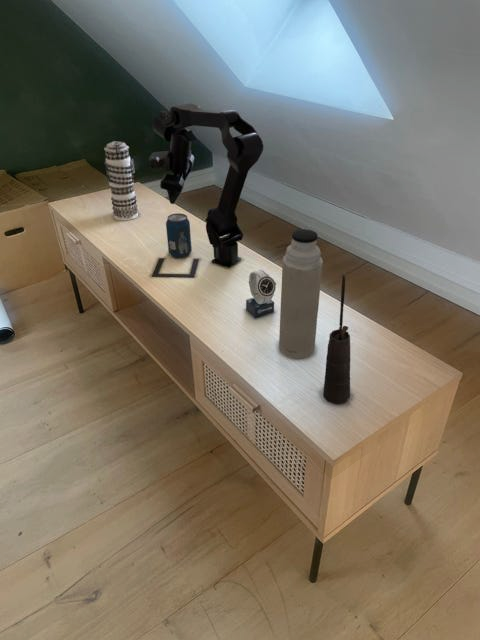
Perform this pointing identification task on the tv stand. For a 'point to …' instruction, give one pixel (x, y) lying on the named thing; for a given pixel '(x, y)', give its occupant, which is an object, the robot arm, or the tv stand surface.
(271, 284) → the watch
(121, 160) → the white and grey cylinder
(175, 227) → the soda can
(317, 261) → the thermos bottle
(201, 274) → the tv stand surface
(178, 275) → the tape square
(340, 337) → the butter churn
